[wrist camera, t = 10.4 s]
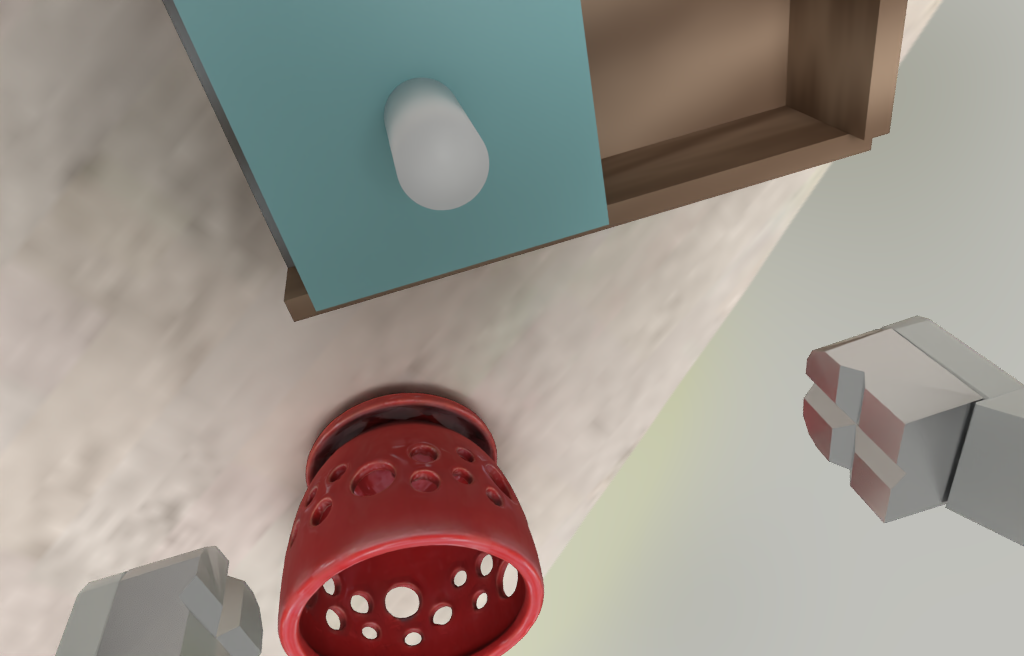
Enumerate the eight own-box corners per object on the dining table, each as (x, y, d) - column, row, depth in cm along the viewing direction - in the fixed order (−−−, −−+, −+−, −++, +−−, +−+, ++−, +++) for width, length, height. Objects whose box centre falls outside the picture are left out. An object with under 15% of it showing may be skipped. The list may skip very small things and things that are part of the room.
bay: (144, -87, 24) (84, -84, 18) (810, -252, 26) (948, -297, 20) (300, 257, 33) (292, 334, 27) (792, 113, 35) (886, 156, 29)
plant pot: (284, 376, 37) (267, 550, 27) (510, 369, 40) (568, 521, 30) (295, 535, 43) (284, 720, 34) (487, 517, 47) (529, 680, 37)
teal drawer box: (189, -51, 24) (90, -18, 14) (508, -132, 25) (624, -154, 15) (313, 239, 31) (305, 395, 21) (559, 168, 32) (660, 286, 22)
